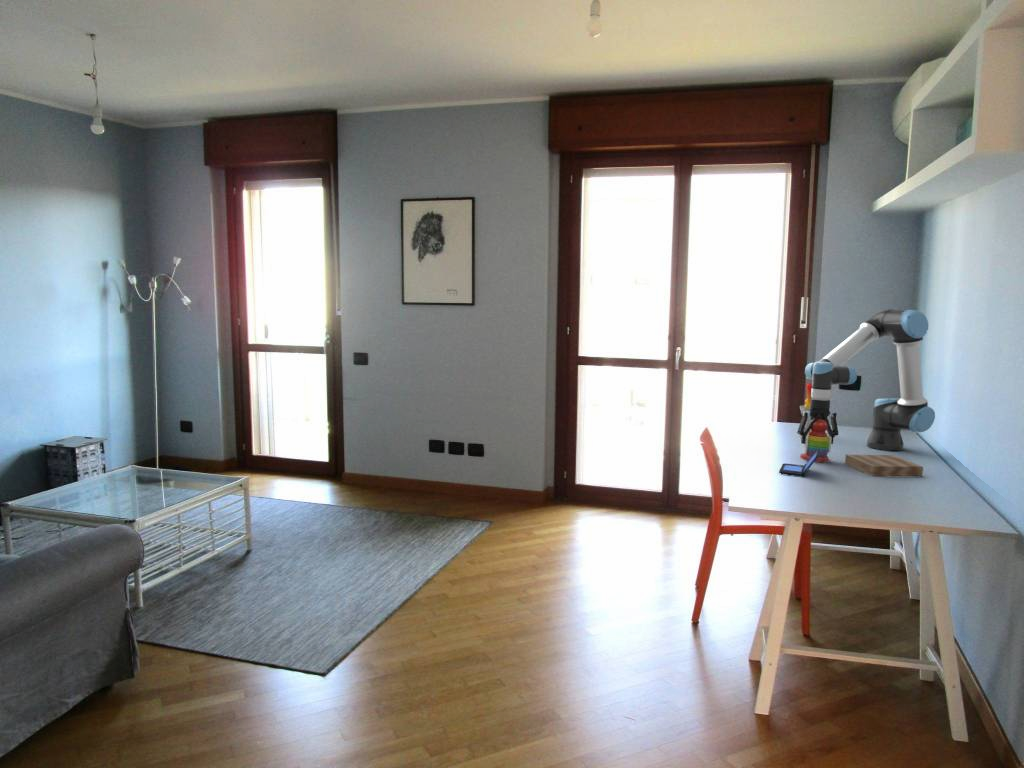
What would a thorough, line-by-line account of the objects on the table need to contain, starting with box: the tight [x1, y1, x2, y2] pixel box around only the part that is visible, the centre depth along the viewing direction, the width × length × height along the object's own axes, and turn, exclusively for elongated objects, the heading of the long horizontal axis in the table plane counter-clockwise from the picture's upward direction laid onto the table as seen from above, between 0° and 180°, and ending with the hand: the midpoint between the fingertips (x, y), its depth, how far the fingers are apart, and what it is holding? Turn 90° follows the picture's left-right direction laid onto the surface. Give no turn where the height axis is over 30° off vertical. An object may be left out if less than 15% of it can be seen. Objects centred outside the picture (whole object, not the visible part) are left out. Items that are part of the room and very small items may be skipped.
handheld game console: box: [778, 449, 820, 478], centre depth 276 cm, size 16×13×9 cm
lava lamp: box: [797, 376, 812, 437], centre depth 349 cm, size 9×9×35 cm
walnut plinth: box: [844, 454, 924, 477], centre depth 283 cm, size 20×20×4 cm
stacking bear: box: [800, 419, 830, 463], centre depth 298 cm, size 11×10×18 cm
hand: (816, 451), depth 298 cm, fingers closed on stacking bear, 9 cm apart
